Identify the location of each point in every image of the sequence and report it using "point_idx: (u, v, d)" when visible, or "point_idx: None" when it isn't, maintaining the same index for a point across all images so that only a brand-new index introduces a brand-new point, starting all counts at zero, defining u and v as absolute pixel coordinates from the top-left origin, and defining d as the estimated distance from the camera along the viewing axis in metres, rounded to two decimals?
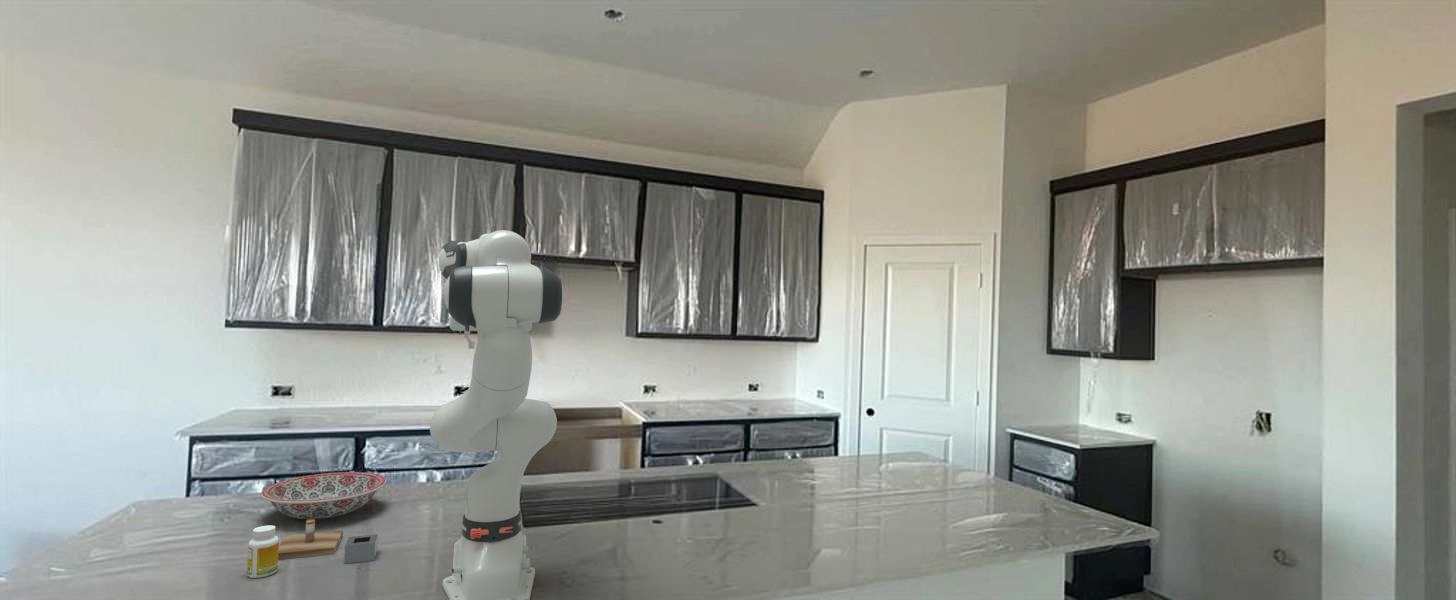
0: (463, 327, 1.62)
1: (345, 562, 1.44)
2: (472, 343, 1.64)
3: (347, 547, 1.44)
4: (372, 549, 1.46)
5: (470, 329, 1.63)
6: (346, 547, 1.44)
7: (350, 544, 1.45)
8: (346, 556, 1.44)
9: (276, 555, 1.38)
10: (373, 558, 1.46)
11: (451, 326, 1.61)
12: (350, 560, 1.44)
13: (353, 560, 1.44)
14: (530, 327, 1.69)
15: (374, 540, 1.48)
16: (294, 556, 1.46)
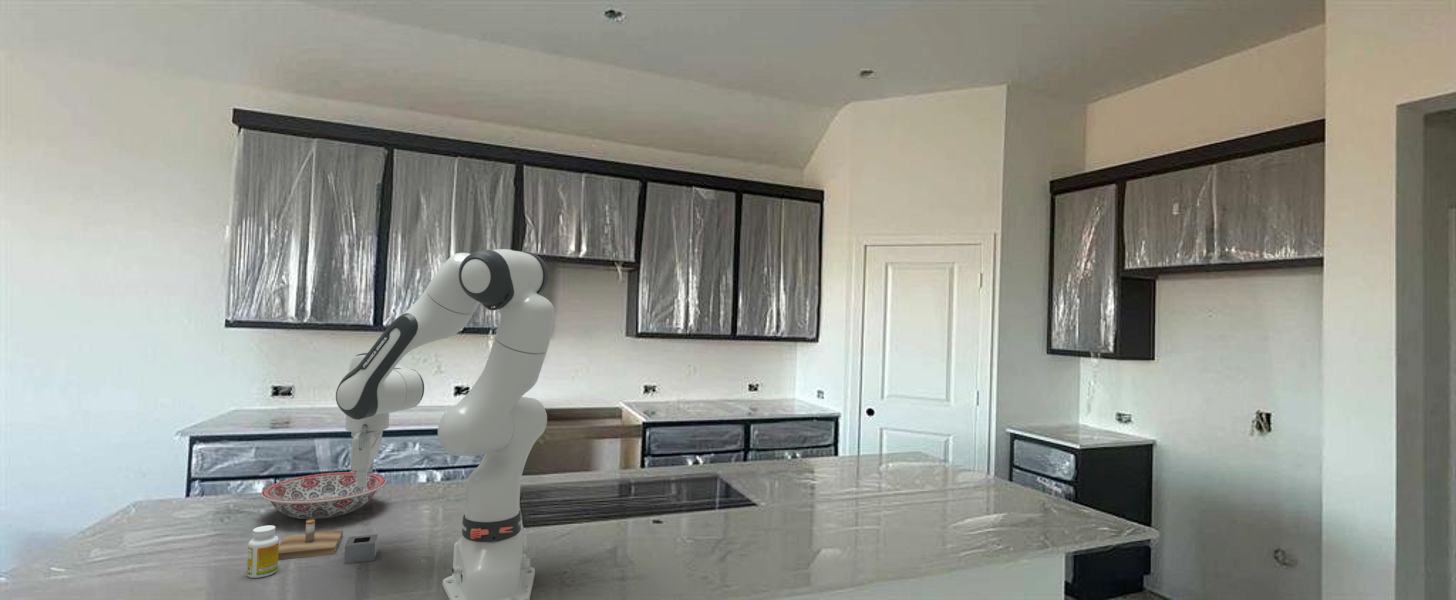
0: (370, 463, 1.42)
1: (345, 562, 1.44)
2: (366, 479, 1.44)
3: (347, 547, 1.44)
4: (372, 549, 1.46)
5: (371, 464, 1.44)
6: (346, 547, 1.44)
7: (350, 544, 1.45)
8: (346, 556, 1.44)
9: (276, 555, 1.38)
10: (373, 558, 1.46)
11: (368, 466, 1.40)
12: (350, 560, 1.44)
13: (353, 560, 1.44)
14: None
15: (374, 540, 1.48)
16: (294, 556, 1.46)
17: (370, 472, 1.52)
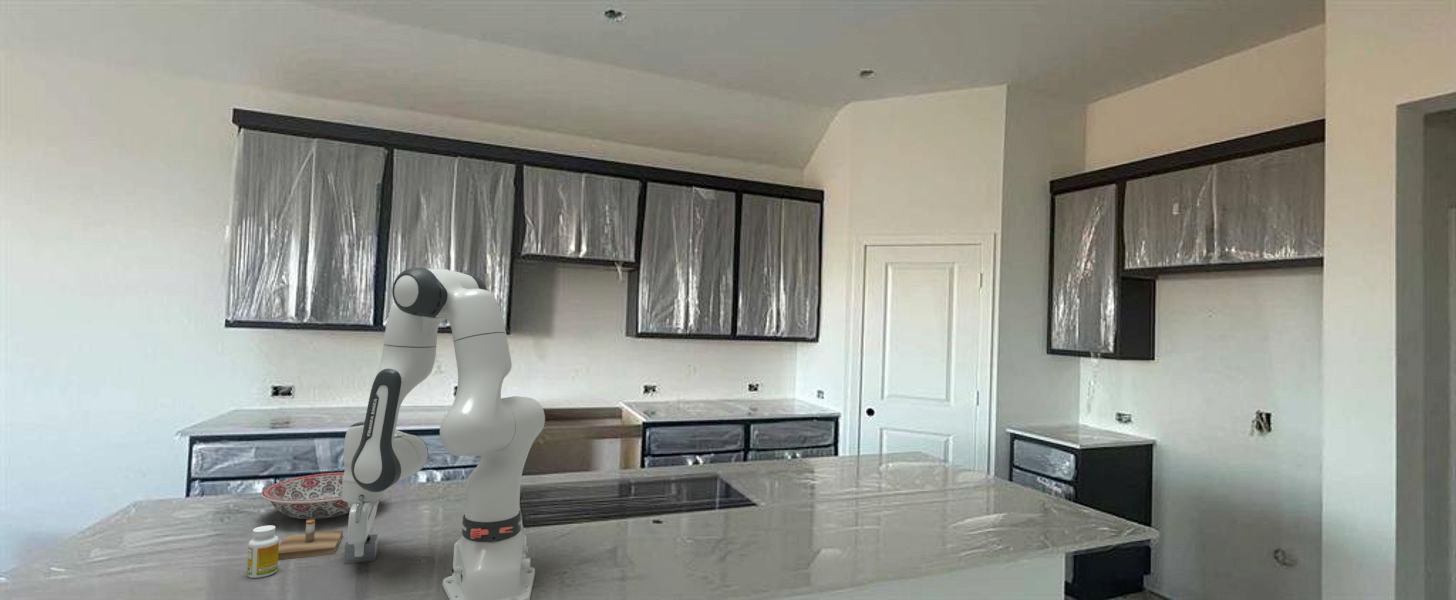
0: (367, 535, 1.42)
1: (345, 562, 1.44)
2: None
3: (347, 547, 1.44)
4: (372, 549, 1.46)
5: (368, 534, 1.44)
6: (346, 547, 1.44)
7: (350, 544, 1.45)
8: (346, 556, 1.44)
9: (276, 555, 1.38)
10: (373, 558, 1.46)
11: (365, 538, 1.39)
12: (350, 560, 1.44)
13: (353, 560, 1.44)
14: None
15: (374, 540, 1.48)
16: (294, 556, 1.46)
17: None
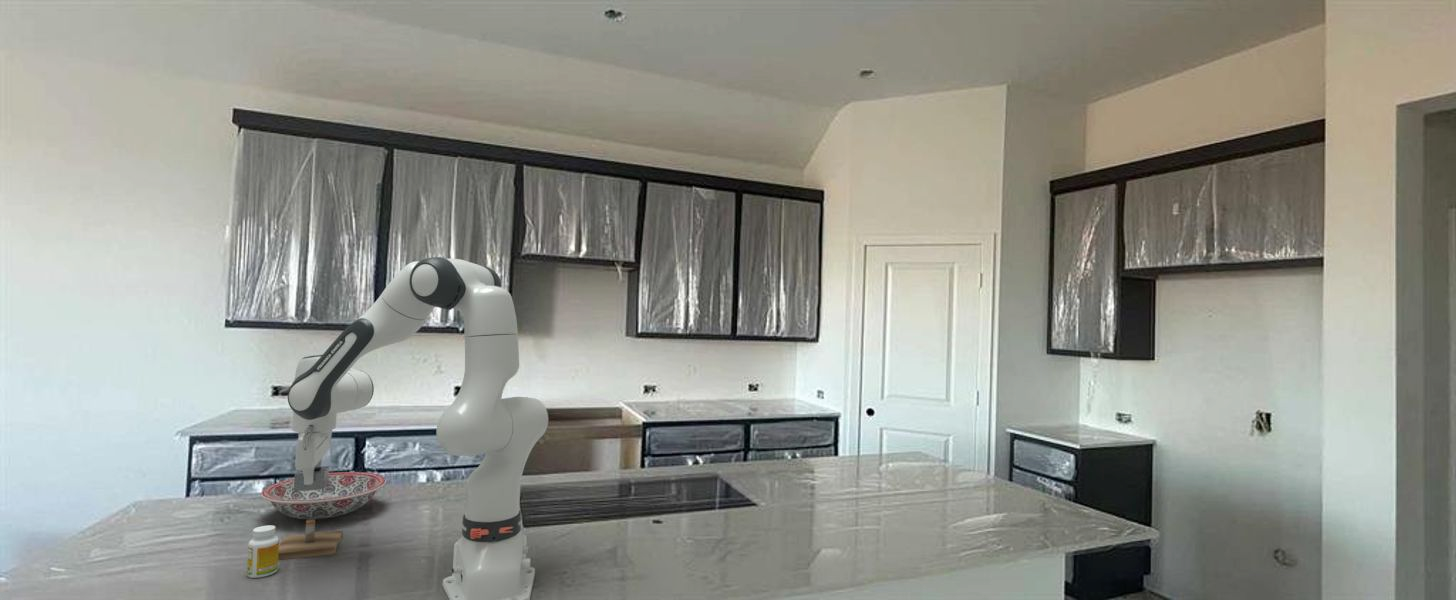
0: (316, 463, 1.47)
1: (295, 490, 1.48)
2: (313, 477, 1.49)
3: (296, 475, 1.49)
4: (322, 478, 1.50)
5: (317, 463, 1.48)
6: (296, 475, 1.48)
7: (300, 473, 1.49)
8: (296, 484, 1.48)
9: (276, 555, 1.38)
10: (322, 487, 1.51)
11: (313, 465, 1.44)
12: (300, 488, 1.49)
13: (303, 488, 1.49)
14: None
15: (324, 470, 1.52)
16: (294, 556, 1.46)
17: None
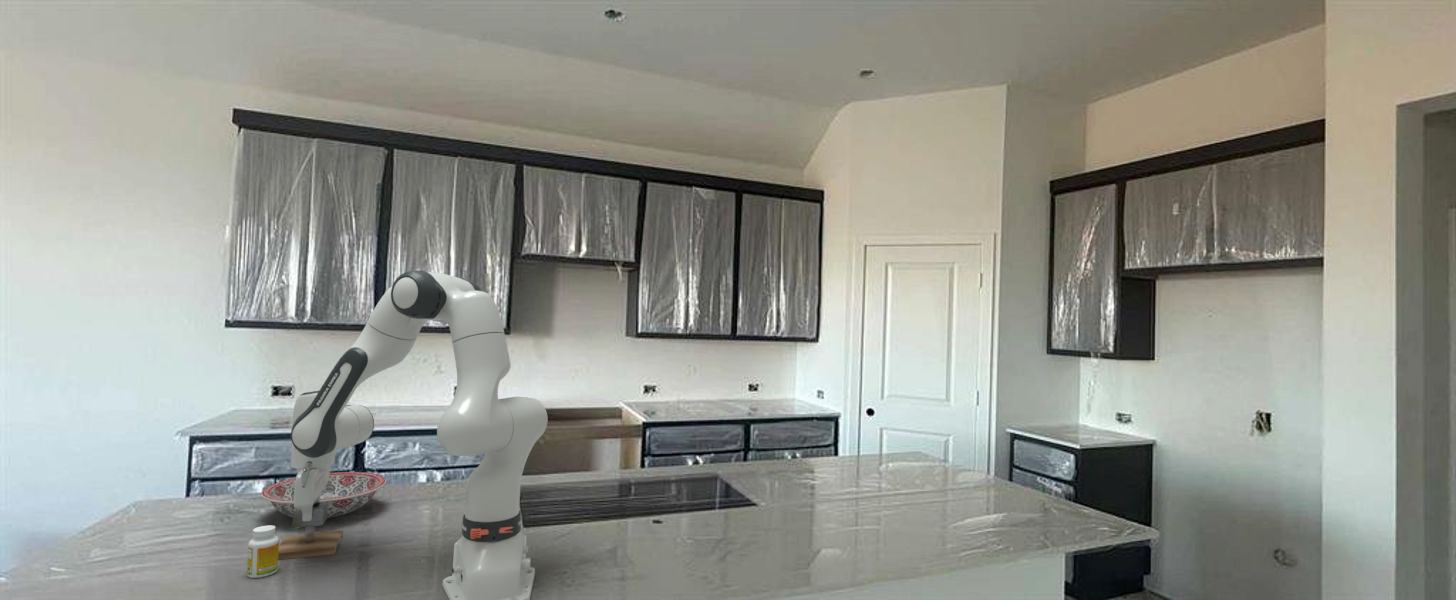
0: (314, 499, 1.47)
1: (293, 526, 1.48)
2: (312, 513, 1.49)
3: (295, 512, 1.48)
4: (320, 514, 1.50)
5: (315, 499, 1.48)
6: (294, 512, 1.48)
7: (298, 509, 1.49)
8: (294, 520, 1.48)
9: (276, 555, 1.38)
10: (321, 523, 1.50)
11: (311, 502, 1.44)
12: (298, 524, 1.49)
13: (301, 524, 1.49)
14: None
15: (323, 506, 1.52)
16: (294, 556, 1.46)
17: None
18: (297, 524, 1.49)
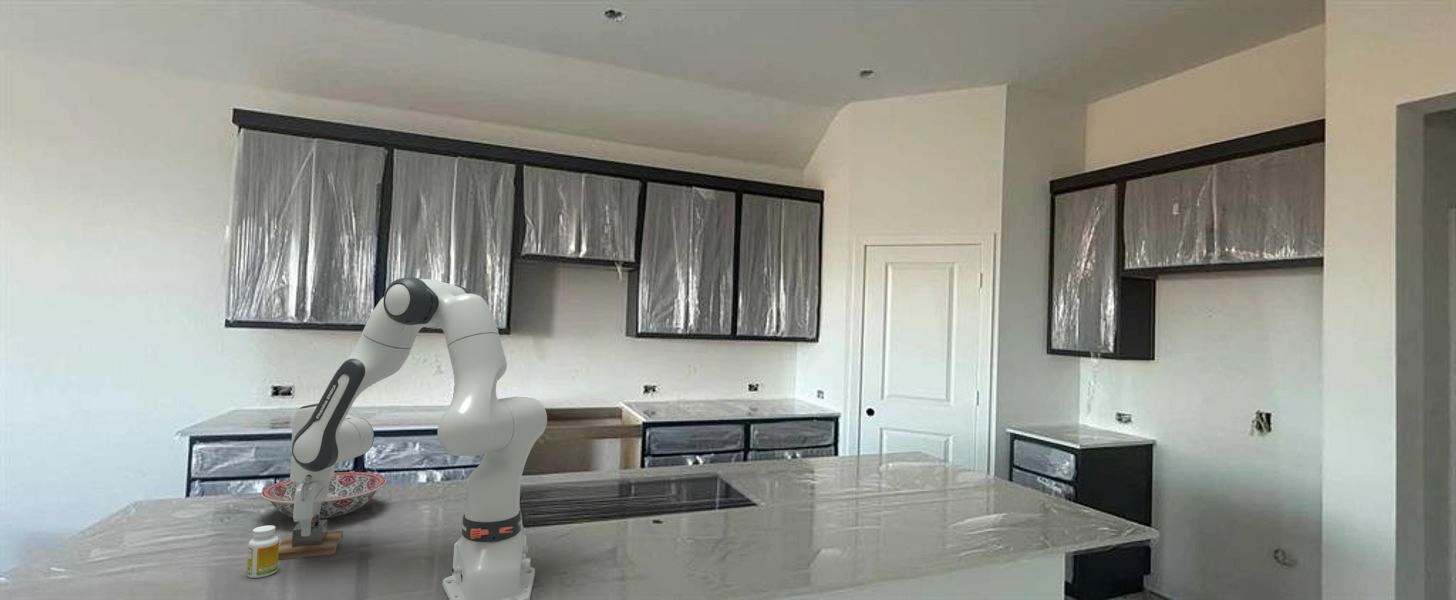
0: (314, 513, 1.47)
1: (293, 546, 1.48)
2: None
3: (295, 531, 1.48)
4: (320, 533, 1.50)
5: (315, 513, 1.48)
6: (294, 531, 1.48)
7: (298, 528, 1.49)
8: (294, 540, 1.48)
9: (276, 555, 1.38)
10: (321, 542, 1.50)
11: (311, 516, 1.44)
12: (298, 544, 1.49)
13: (301, 544, 1.49)
14: None
15: (322, 525, 1.52)
16: (294, 556, 1.46)
17: (317, 519, 1.56)
18: (297, 544, 1.49)
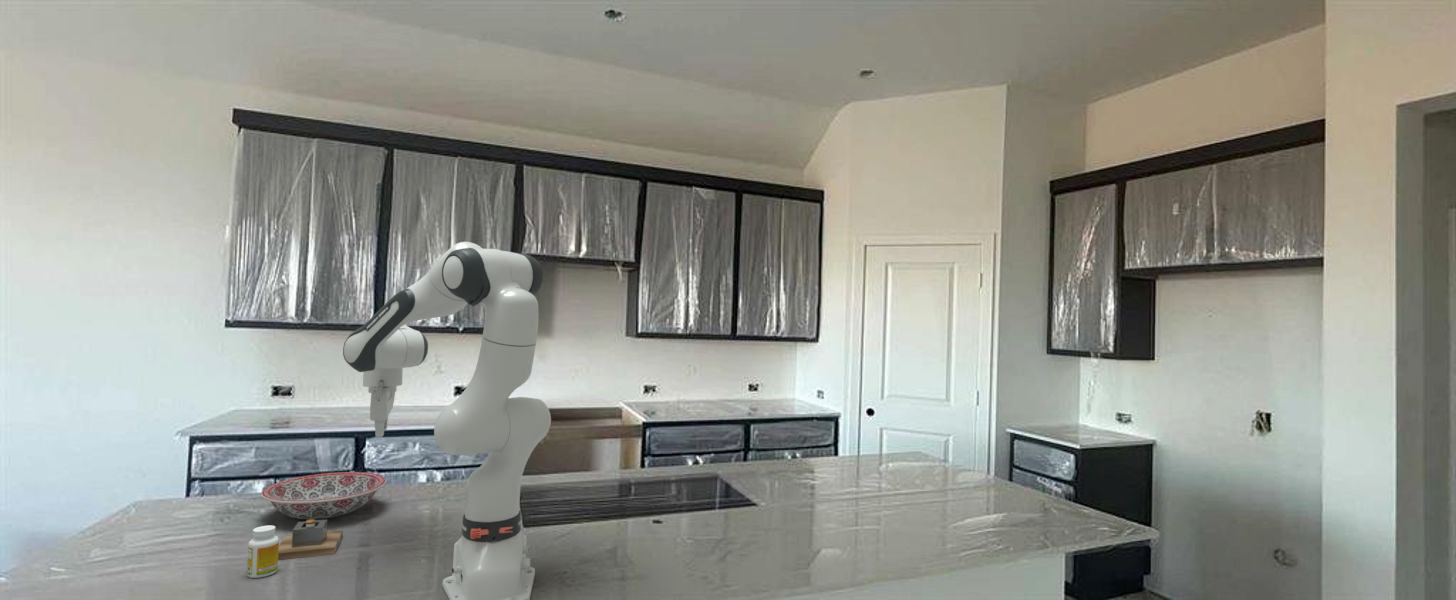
0: (387, 415, 1.57)
1: (293, 546, 1.48)
2: (383, 430, 1.58)
3: (295, 531, 1.48)
4: (320, 533, 1.50)
5: None
6: (294, 531, 1.48)
7: (298, 528, 1.49)
8: (294, 540, 1.48)
9: (276, 555, 1.38)
10: (321, 542, 1.50)
11: (386, 416, 1.54)
12: (298, 544, 1.49)
13: (301, 544, 1.49)
14: None
15: (322, 525, 1.52)
16: (294, 556, 1.46)
17: (385, 427, 1.66)
18: (297, 544, 1.49)
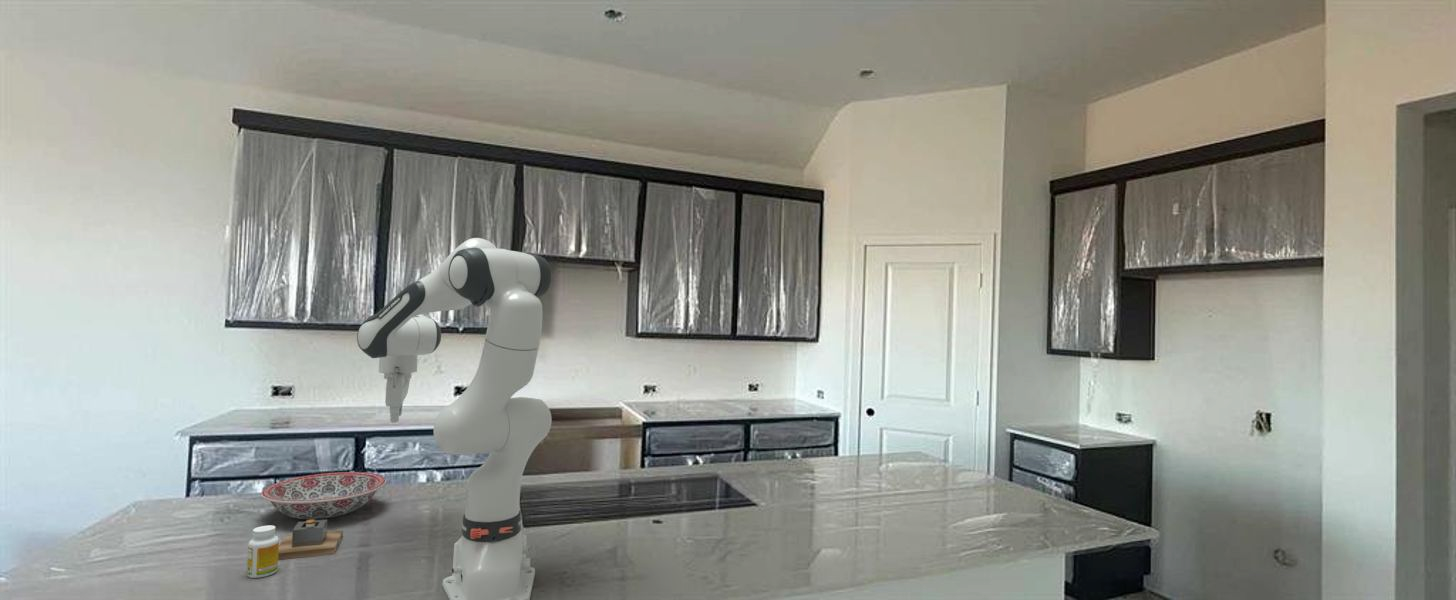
0: (402, 401, 1.59)
1: (293, 546, 1.48)
2: (398, 416, 1.61)
3: (295, 531, 1.48)
4: (320, 533, 1.50)
5: None
6: (294, 531, 1.48)
7: (298, 528, 1.49)
8: (294, 540, 1.48)
9: (276, 555, 1.38)
10: (321, 542, 1.50)
11: (401, 402, 1.56)
12: (298, 544, 1.49)
13: (301, 544, 1.49)
14: None
15: (322, 525, 1.52)
16: (294, 556, 1.46)
17: (400, 413, 1.69)
18: (297, 544, 1.49)
